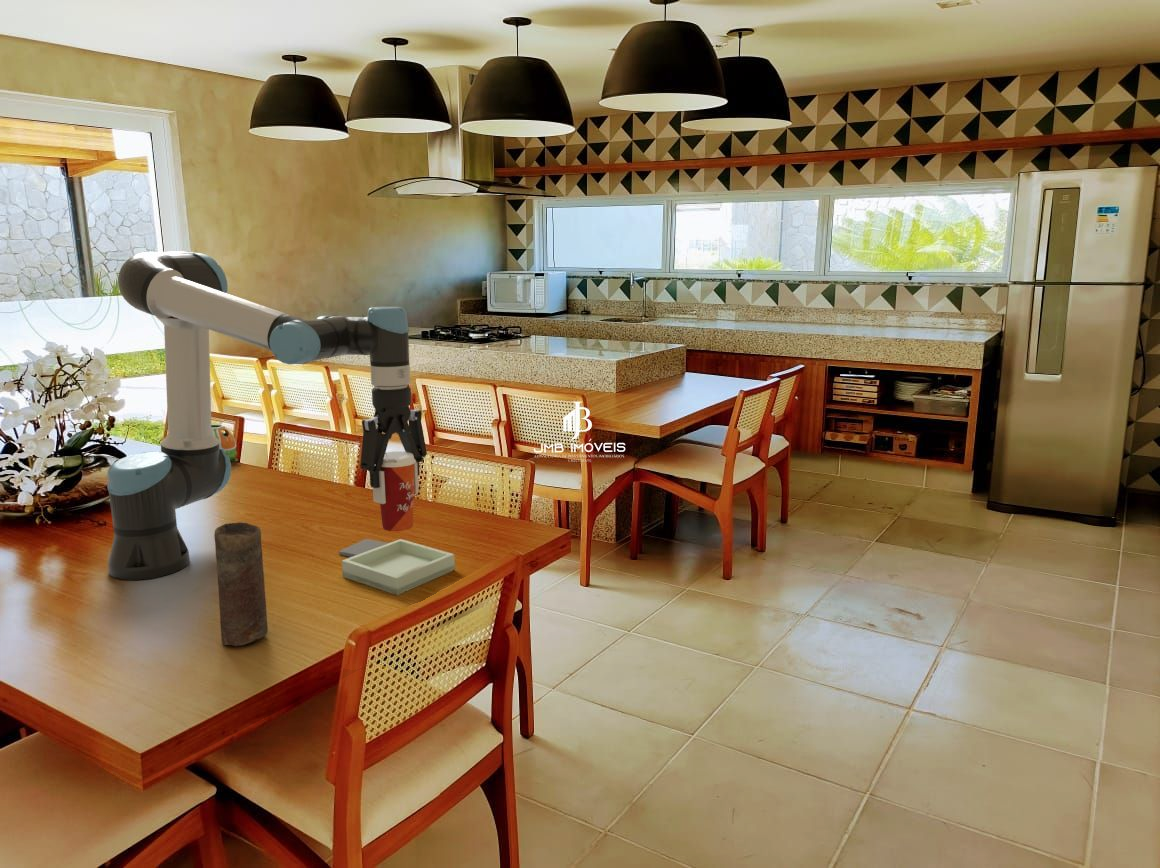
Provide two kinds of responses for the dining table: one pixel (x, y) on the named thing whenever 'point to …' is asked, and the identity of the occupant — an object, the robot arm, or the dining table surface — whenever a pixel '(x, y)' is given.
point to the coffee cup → (398, 491)
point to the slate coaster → (361, 547)
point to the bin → (398, 566)
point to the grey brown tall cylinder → (240, 583)
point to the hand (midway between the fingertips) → (396, 497)
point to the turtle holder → (225, 440)
